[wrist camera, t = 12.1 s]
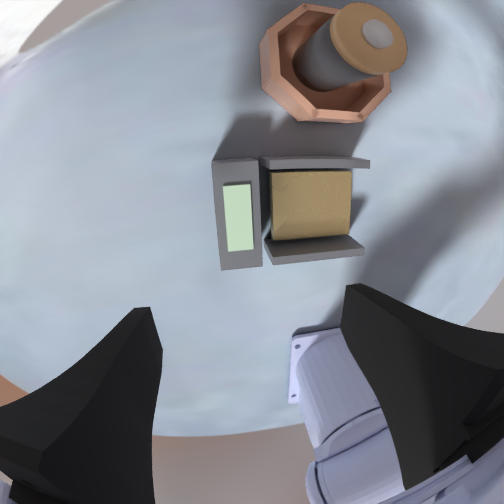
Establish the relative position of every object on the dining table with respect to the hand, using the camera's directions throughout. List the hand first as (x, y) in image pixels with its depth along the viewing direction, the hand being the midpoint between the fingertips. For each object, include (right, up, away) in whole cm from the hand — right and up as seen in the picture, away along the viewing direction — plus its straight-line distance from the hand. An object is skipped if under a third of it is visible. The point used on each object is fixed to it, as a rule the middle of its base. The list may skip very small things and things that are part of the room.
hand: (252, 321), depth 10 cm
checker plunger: (+4, +6, +8) cm, 10 cm away
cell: (+4, +14, +4) cm, 15 cm away
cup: (+4, +14, +5) cm, 16 cm away
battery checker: (+2, +6, +8) cm, 10 cm away
